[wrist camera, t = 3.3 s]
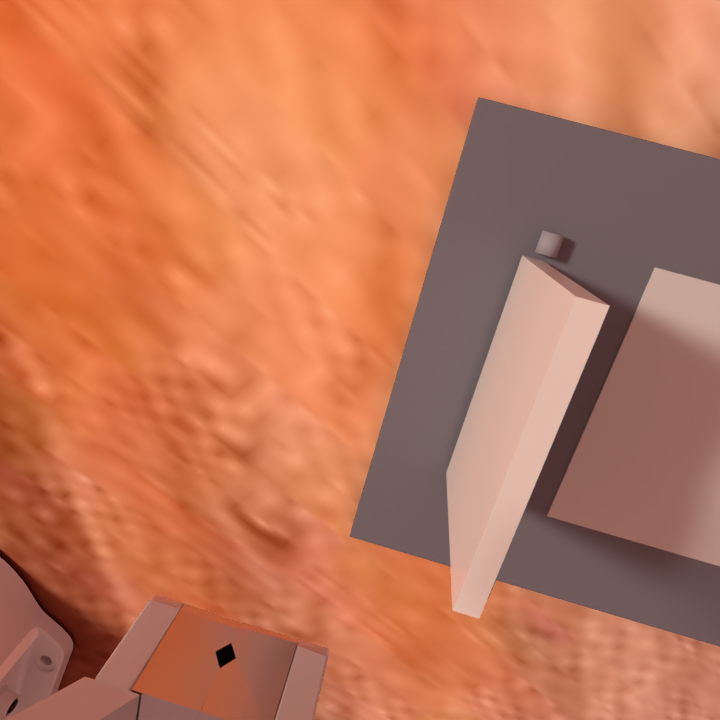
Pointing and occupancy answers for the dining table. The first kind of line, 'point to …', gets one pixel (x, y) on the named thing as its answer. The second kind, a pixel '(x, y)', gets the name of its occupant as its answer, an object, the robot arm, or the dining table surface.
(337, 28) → the dining table surface
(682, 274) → the board
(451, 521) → the tile
